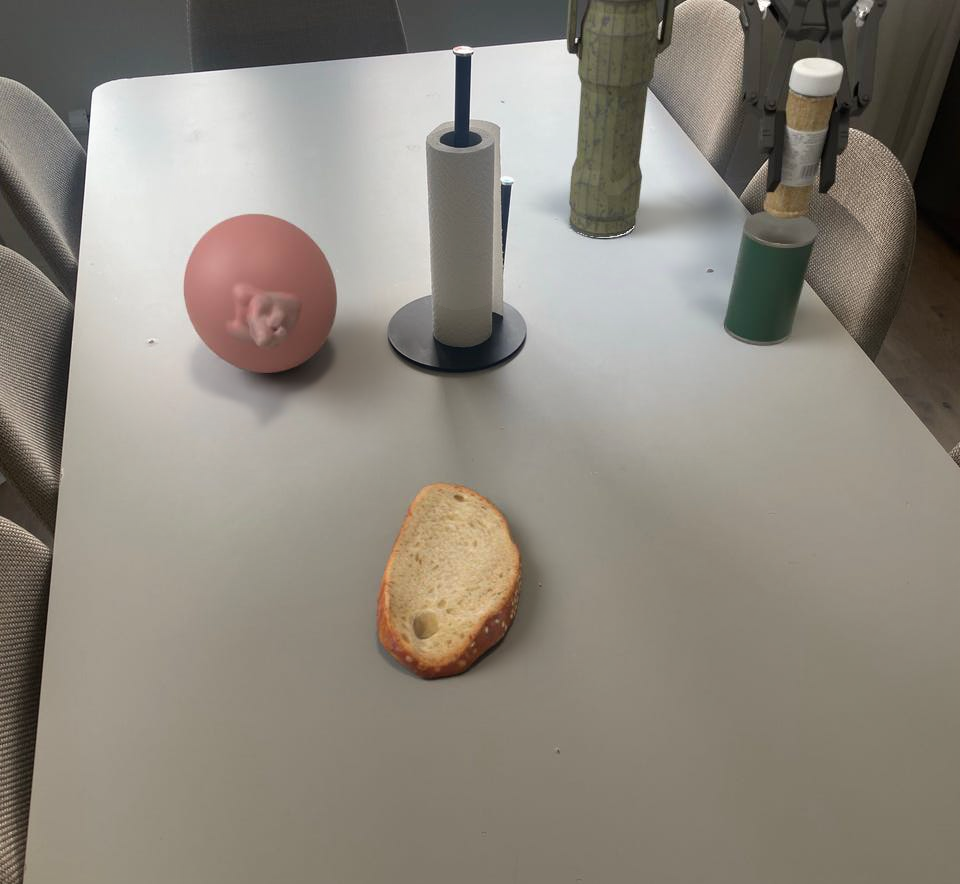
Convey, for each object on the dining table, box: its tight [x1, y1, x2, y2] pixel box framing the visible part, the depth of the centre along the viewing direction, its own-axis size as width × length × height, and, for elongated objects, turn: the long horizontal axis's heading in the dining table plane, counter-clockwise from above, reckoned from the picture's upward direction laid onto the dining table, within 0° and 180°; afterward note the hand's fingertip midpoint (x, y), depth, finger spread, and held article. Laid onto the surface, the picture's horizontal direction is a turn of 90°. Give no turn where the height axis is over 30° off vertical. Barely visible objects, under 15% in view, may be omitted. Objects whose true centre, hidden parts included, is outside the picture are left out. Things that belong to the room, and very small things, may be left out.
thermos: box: [566, 0, 677, 237], centre depth 110 cm, size 9×12×35 cm
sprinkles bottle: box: [763, 57, 843, 219], centre depth 92 cm, size 5×5×14 cm
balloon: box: [183, 213, 338, 374], centre depth 96 cm, size 15×20×15 cm
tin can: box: [723, 210, 819, 346], centre depth 102 cm, size 8×8×12 cm
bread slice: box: [376, 482, 523, 679], centre depth 79 cm, size 18×18×4 cm
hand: (800, 186), depth 91 cm, fingers closed on sprinkles bottle, 4 cm apart
